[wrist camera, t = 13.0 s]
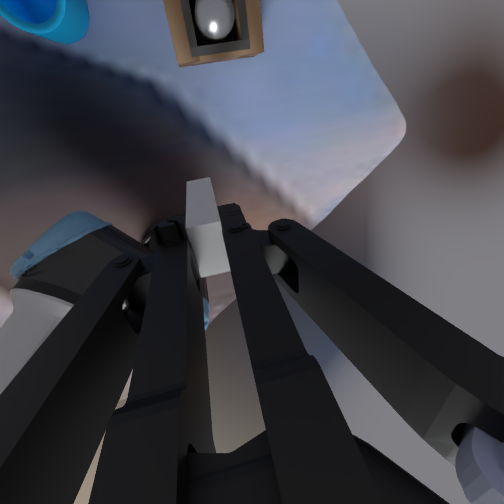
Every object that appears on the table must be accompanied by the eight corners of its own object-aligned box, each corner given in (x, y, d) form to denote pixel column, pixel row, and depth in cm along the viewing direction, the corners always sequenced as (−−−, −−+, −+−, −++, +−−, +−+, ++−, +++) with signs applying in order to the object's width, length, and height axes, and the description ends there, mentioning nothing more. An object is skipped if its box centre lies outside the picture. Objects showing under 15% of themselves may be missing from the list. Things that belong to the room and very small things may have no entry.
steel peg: (198, 47, 39) (200, 41, 33) (190, 3, 36) (190, -13, 31) (230, 43, 39) (237, 35, 34) (224, -1, 37) (230, -17, 31)
